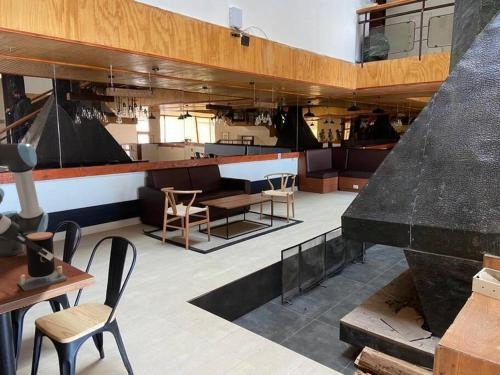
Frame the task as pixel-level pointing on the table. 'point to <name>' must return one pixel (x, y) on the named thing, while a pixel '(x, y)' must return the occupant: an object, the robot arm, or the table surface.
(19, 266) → the table surface
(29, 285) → the peg board
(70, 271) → the table surface
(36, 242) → the coffee jar
